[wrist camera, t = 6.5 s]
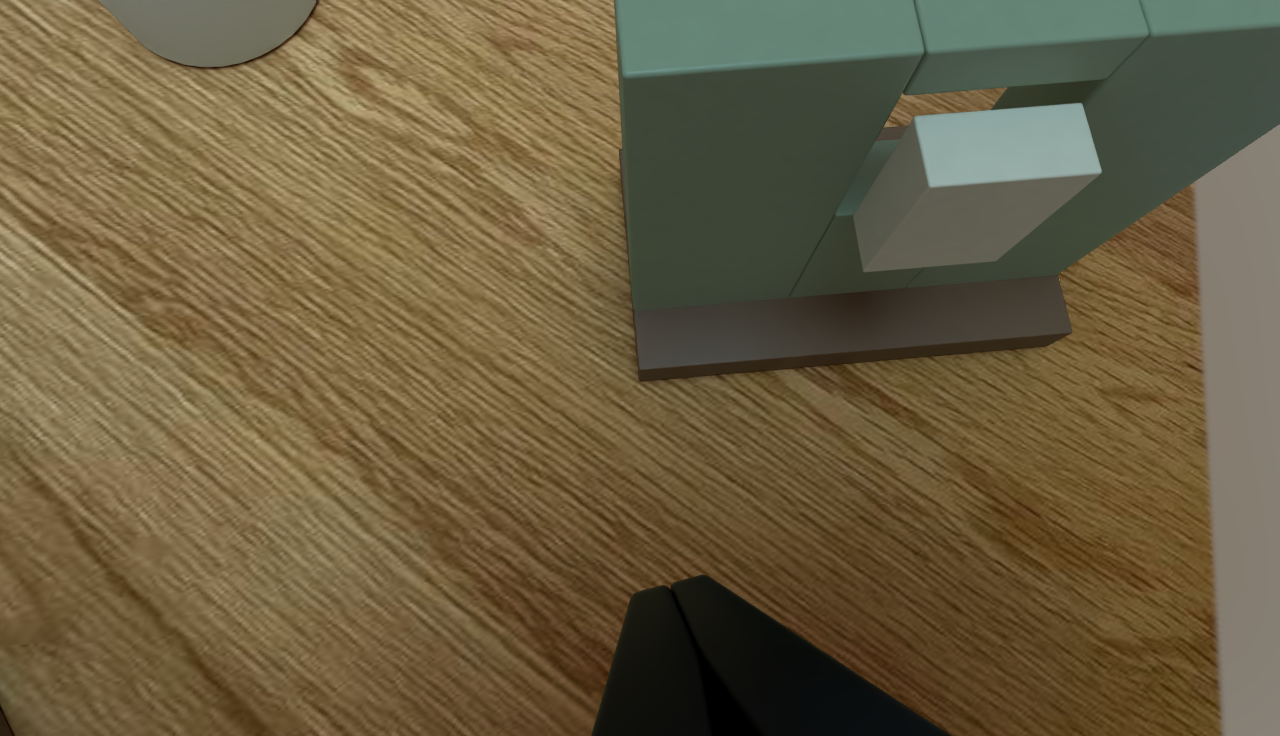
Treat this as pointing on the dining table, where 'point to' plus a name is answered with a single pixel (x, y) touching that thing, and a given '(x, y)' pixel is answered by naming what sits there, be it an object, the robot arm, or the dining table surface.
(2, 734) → the button box
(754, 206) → the wall plate
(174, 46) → the mug
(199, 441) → the dining table surface
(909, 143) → the switch
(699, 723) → the robot arm
